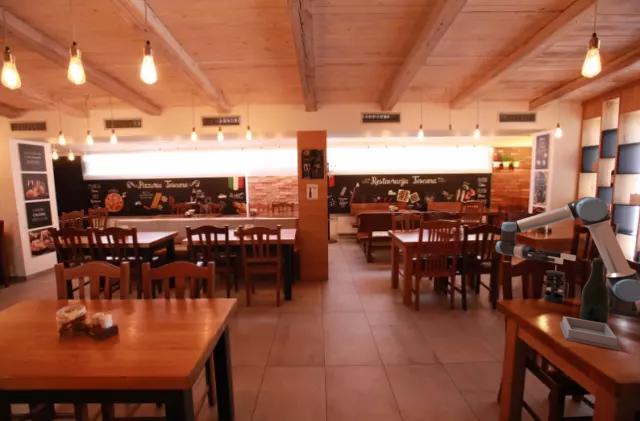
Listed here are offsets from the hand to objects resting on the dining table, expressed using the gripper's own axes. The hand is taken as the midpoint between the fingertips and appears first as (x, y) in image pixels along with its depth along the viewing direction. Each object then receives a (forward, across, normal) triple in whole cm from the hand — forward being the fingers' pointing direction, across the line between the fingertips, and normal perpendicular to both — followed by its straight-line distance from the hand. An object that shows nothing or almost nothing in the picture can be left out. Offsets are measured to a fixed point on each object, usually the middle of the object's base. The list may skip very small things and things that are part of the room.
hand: (569, 259), depth 160 cm
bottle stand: (+15, +15, -30) cm, 37 cm away
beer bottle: (+11, -1, -30) cm, 32 cm away
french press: (-14, -21, -30) cm, 39 cm away
